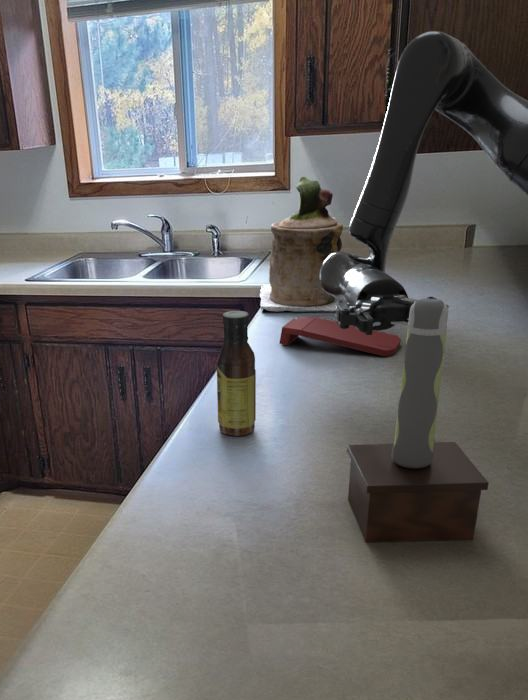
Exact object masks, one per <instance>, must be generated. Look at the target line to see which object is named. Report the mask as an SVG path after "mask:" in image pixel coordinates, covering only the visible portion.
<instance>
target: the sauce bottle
mask: <svg viewBox="0 0 528 700" xmlns="http://www.w3.org/2000/svg"><path fill="white" fill-rule="evenodd" d="M249 315H250V314H249V312H247V311H243V310H230V311H225V312H224V313H223V314H222V324H223V343H222V346H221V348H220V351H219V354H218V357H217V360H216V387H217V388H216V391H217V394H216V395H217V422H218V427H219V430H220V432H221V433H222V434H224V435H228V436H232V437H234V436H235V437H243V436H244V437H245V436H247V435H249V434H251V433H253V432H254V431H255V429H256V425H255V424H256V423H255V422H256V420H257V419H256V417H257V415H256V413H257V410H256V409H257V408H256V405H257V403H256V402H257V399H256V398H257V397H256V396H257V394H256V393H257V391H256V388H257V387H256V386H257V385H256V384H257V383H256V381H257V380H256V379H257V377H256V375H257V371H256V355H255V352H254V350H253V348H252V347H251V345H250V344H249V342H248V341H249V336H248V334H249V333H248V329H249V328H248V325H249V321H250V317H249Z"/></svg>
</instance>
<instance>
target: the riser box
mask: <svg viewBox="0 0 528 700" xmlns="http://www.w3.org/2000/svg"><path fill="white" fill-rule="evenodd" d="M393 445H394V443H371V444H370V443H369V444H347V446H346V453H347V455H348V457H349V459H350V464H349V465H350V466H349V477H348V480H349V481H348V493H347V501H348V504H349V506H350V508H351V511H352V513H353V516H354V518H355V520H356V522H357V525H358V528H359V530H360V532H361V535H362V537H363V539H364V542H365V543H387V542H388V543H390V542H391V543H392V542H429V541H432V542H433V541H434V542H435V541H466V540H467V541H468V540H474V537H475V531H476V526H477V518H478V512H479V506H480V500H481V495H482V491H487V490H488V489H489V481H488V480H487V478H485V476H484V475H483V474H482V472H481V471H480V470H479V469H478V468H477V466H476V465H475V464H474V463H473V462H472V460H471V459H470V458H469V457H468V456H467V455H466V453H465V452H464V451H463V450H462V448H461V447H460V446H459V444H457V442H456V441H437V442H435V441H434V445H433V446H434V455H433V461H432V463H431V464H430V465H429V466H427V467H424V468H418V469H412V468H405V467H402V466H400V465H398V464H396V463H395V462H394V461H393V459H392V449H393Z"/></svg>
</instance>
